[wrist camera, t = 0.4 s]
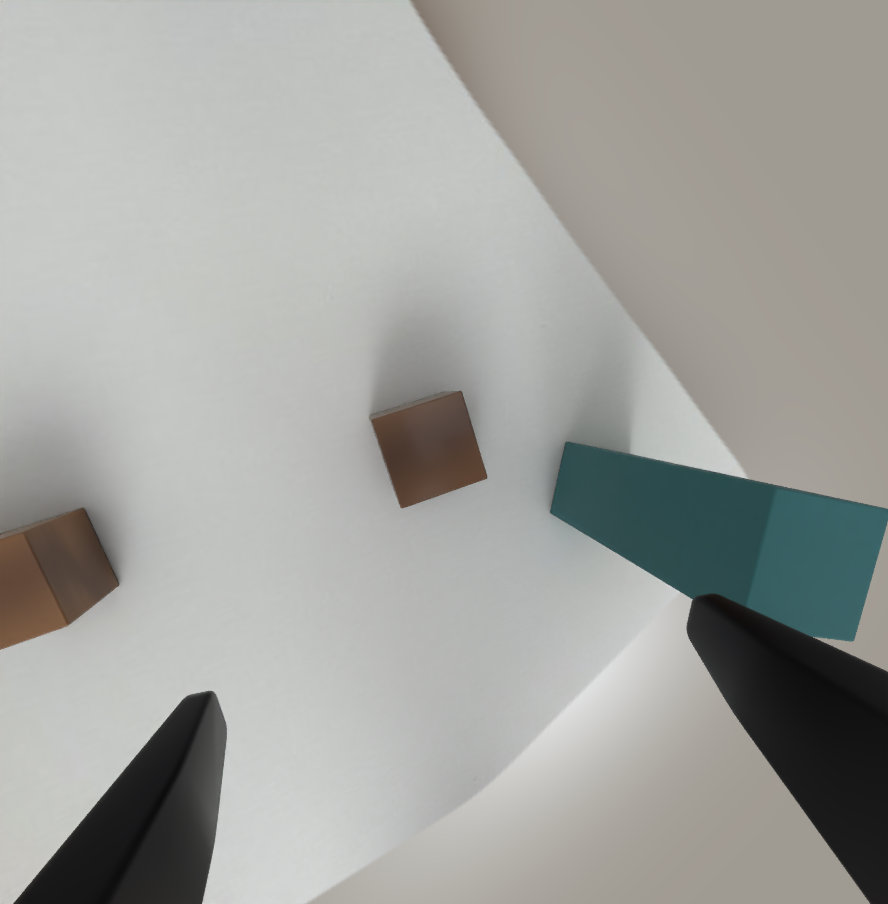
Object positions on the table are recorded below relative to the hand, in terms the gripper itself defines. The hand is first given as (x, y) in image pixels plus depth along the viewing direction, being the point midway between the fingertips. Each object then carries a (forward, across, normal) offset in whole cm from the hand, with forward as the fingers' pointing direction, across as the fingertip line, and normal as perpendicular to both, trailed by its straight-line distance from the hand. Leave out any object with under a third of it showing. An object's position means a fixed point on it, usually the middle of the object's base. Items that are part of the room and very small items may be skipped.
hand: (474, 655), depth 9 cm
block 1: (+15, +16, +6) cm, 22 cm away
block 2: (+16, -1, +2) cm, 16 cm away
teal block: (+15, -10, +6) cm, 19 cm away
